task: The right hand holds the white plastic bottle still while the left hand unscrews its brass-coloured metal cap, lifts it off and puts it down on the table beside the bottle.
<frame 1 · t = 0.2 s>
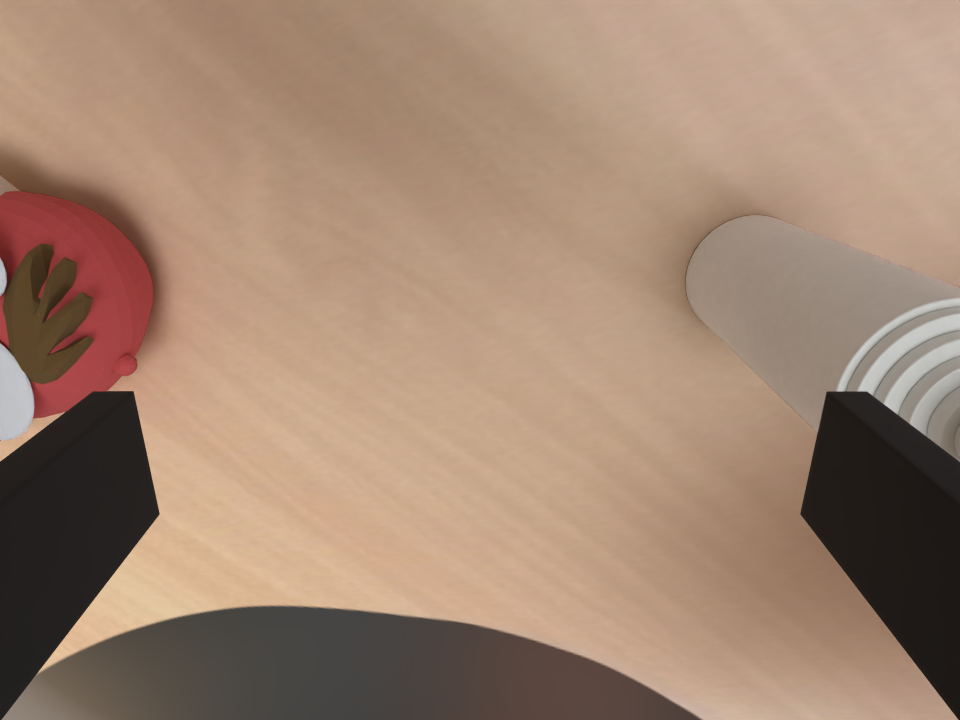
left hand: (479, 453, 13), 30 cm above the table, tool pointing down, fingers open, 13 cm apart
bottle: (746, 276, 42), on the table
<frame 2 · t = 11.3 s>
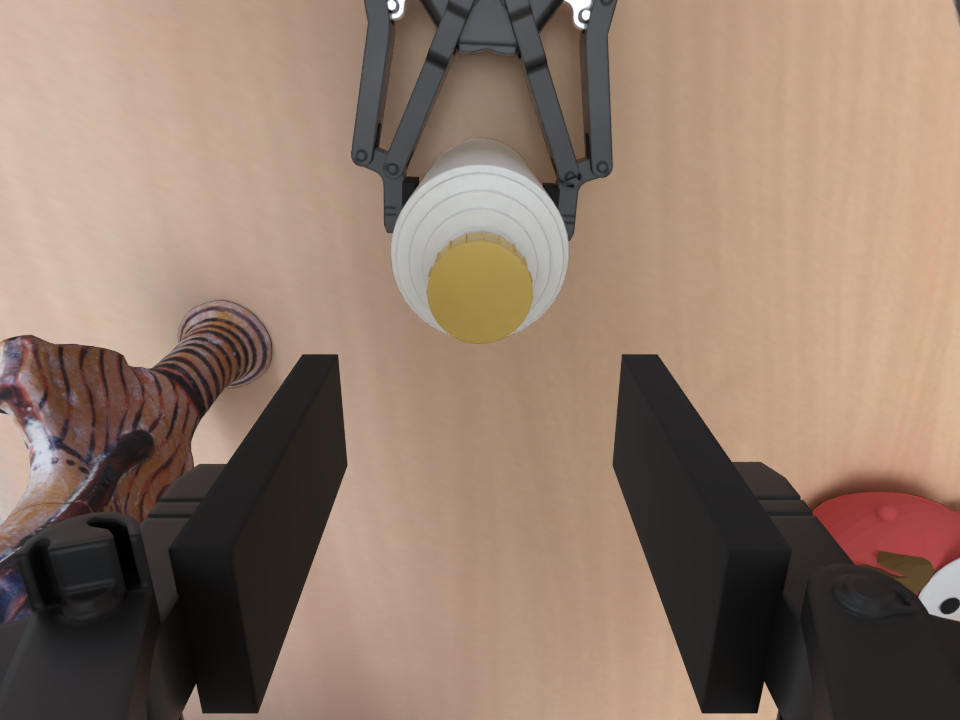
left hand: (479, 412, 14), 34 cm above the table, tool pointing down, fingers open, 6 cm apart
right hand: (476, 287, 42), fingers closed on bottle, 8 cm apart
cap: (479, 292, 23), point 24 cm above the table, screwed on, not yet turned
bottle: (479, 196, 46), on the table, touching right hand
toy: (910, 589, 59), on the table
figurine: (230, 341, 50), on the table
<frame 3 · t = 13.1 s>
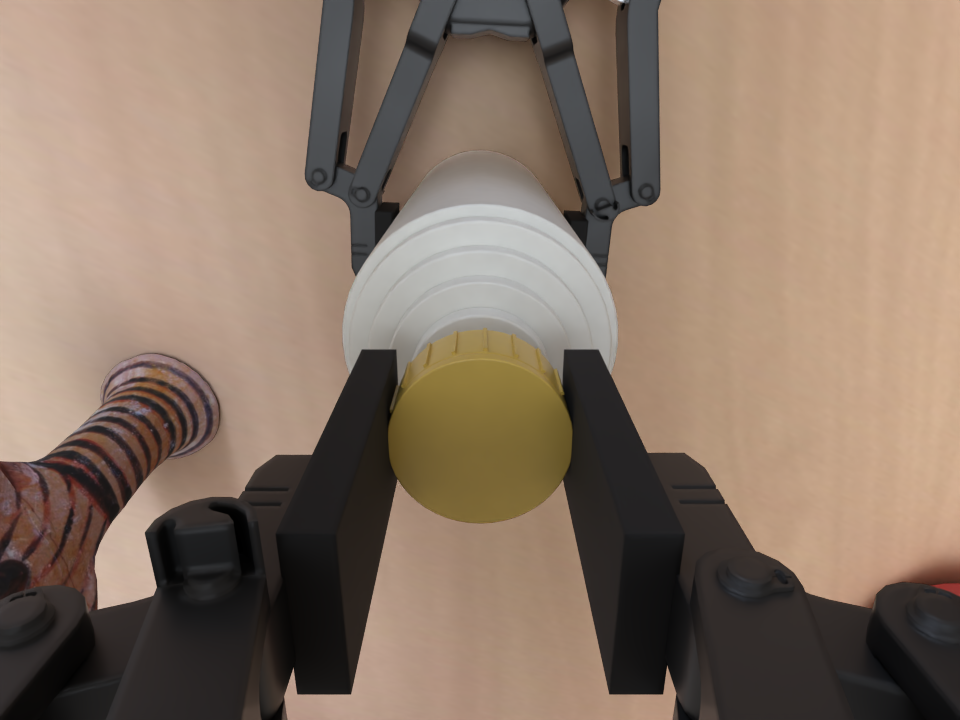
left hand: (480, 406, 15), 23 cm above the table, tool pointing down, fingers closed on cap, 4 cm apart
right hand: (475, 346, 32), fingers closed on bottle, 8 cm apart
cap: (480, 438, 13), point 24 cm above the table, screwed on, not yet turned, touching left hand
bottle: (480, 224, 36), on the table, touching right hand
figurine: (167, 402, 40), on the table
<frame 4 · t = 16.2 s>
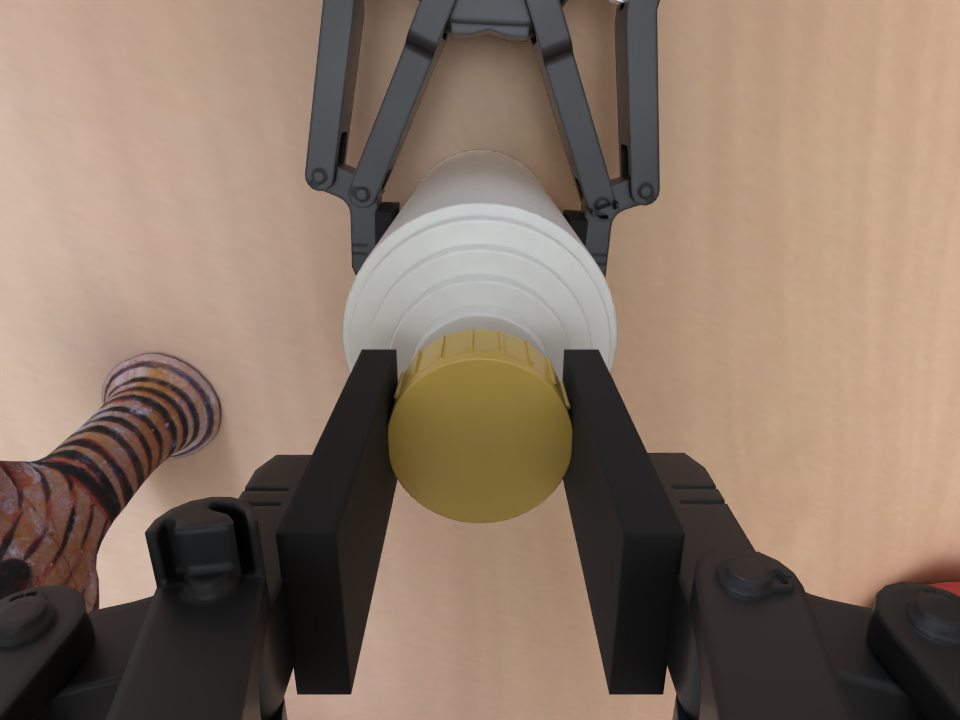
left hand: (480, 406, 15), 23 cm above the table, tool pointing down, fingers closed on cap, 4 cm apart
right hand: (475, 345, 32), fingers closed on bottle, 8 cm apart
cap: (480, 438, 13), point 24 cm above the table, turned 84° so far, risen 0.1 cm, still on its thread, touching left hand
bottle: (480, 223, 36), on the table, touching right hand
figurine: (168, 402, 40), on the table
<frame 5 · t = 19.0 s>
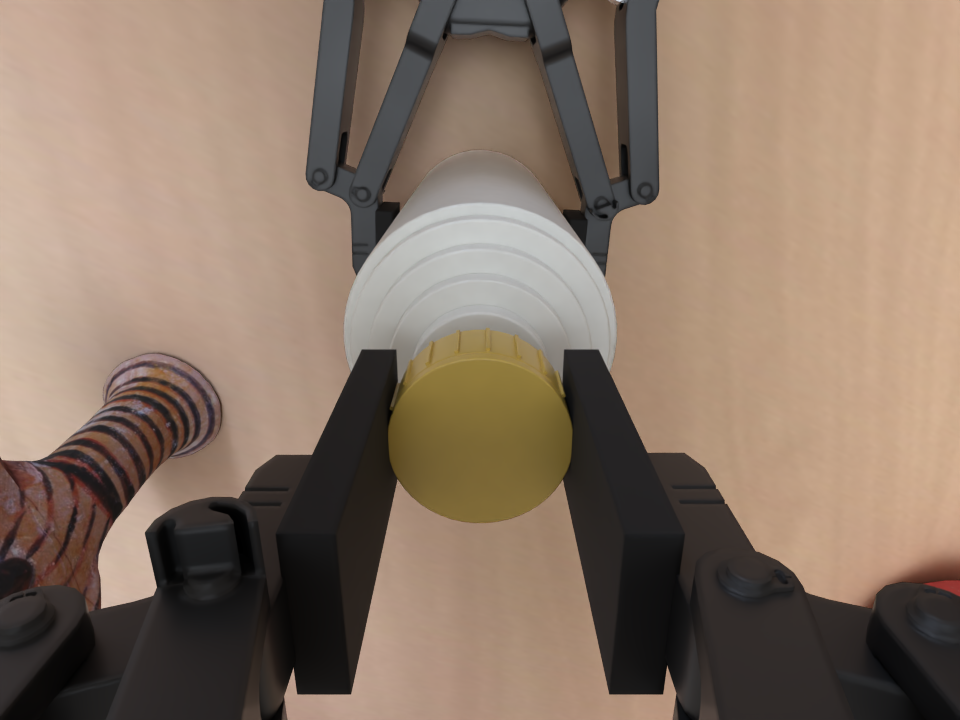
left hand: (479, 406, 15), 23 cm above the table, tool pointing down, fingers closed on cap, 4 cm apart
right hand: (476, 345, 32), fingers closed on bottle, 8 cm apart
cap: (480, 438, 13), point 24 cm above the table, turned 169° so far, risen 0.2 cm, still on its thread, touching left hand
bottle: (480, 223, 36), on the table, touching right hand
figurine: (169, 402, 40), on the table
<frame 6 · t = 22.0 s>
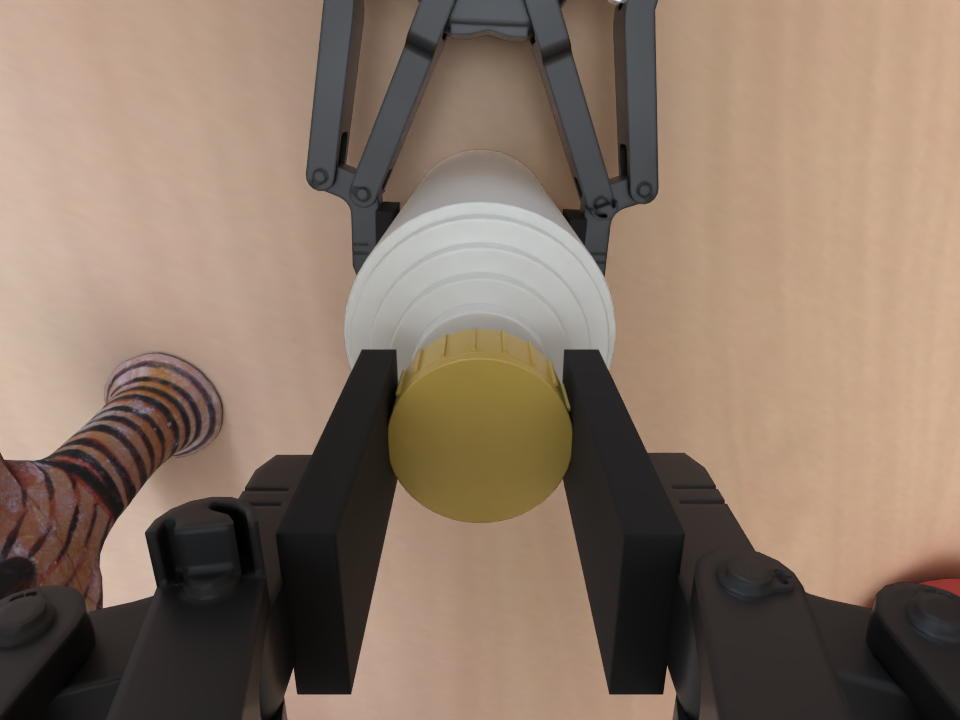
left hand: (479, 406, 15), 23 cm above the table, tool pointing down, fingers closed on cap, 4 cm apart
right hand: (476, 344, 32), fingers closed on bottle, 8 cm apart
cap: (480, 437, 13), point 25 cm above the table, turned 253° so far, risen 0.3 cm, still on its thread, touching left hand
bottle: (480, 223, 36), on the table, touching right hand
figurine: (170, 401, 40), on the table
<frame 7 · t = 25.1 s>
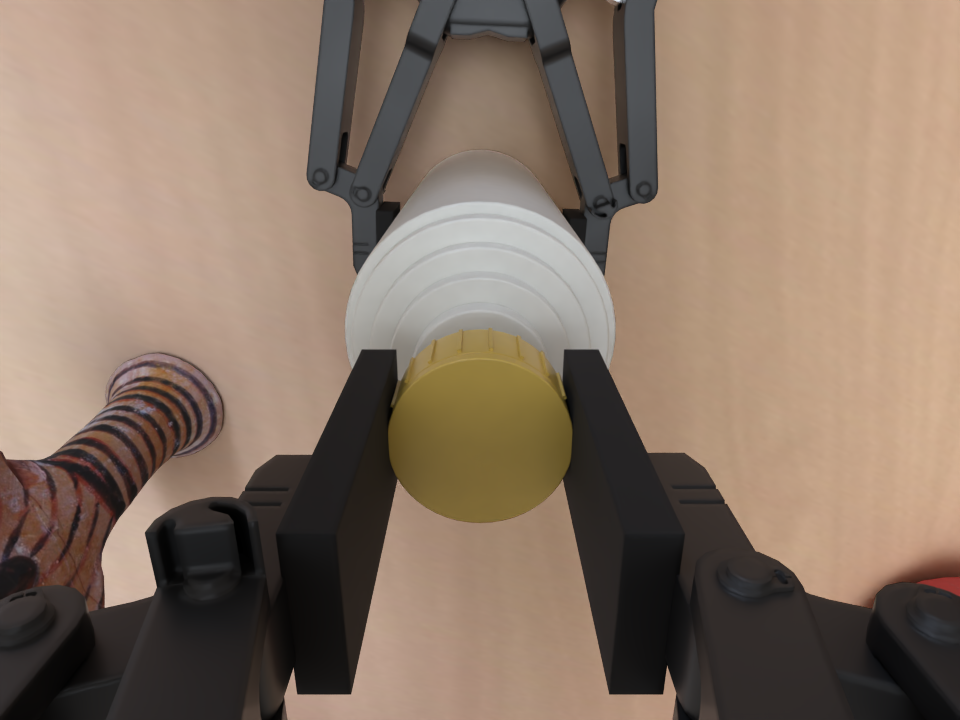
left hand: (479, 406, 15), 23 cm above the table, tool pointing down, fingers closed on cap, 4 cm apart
right hand: (476, 343, 32), fingers closed on bottle, 8 cm apart
cap: (480, 437, 13), point 25 cm above the table, turned 337° so far, risen 0.4 cm, still on its thread, touching left hand
bottle: (480, 222, 36), on the table, touching right hand
figurine: (171, 401, 40), on the table
when the left hand's fingers open (1 cm above the table, at t = 32.0 s): cap stays where it is, point 1 cm above the table.
when the right hand's fingers open (6 cm above the table, at t = 33.3 s): bottle stays where it is, on the table.
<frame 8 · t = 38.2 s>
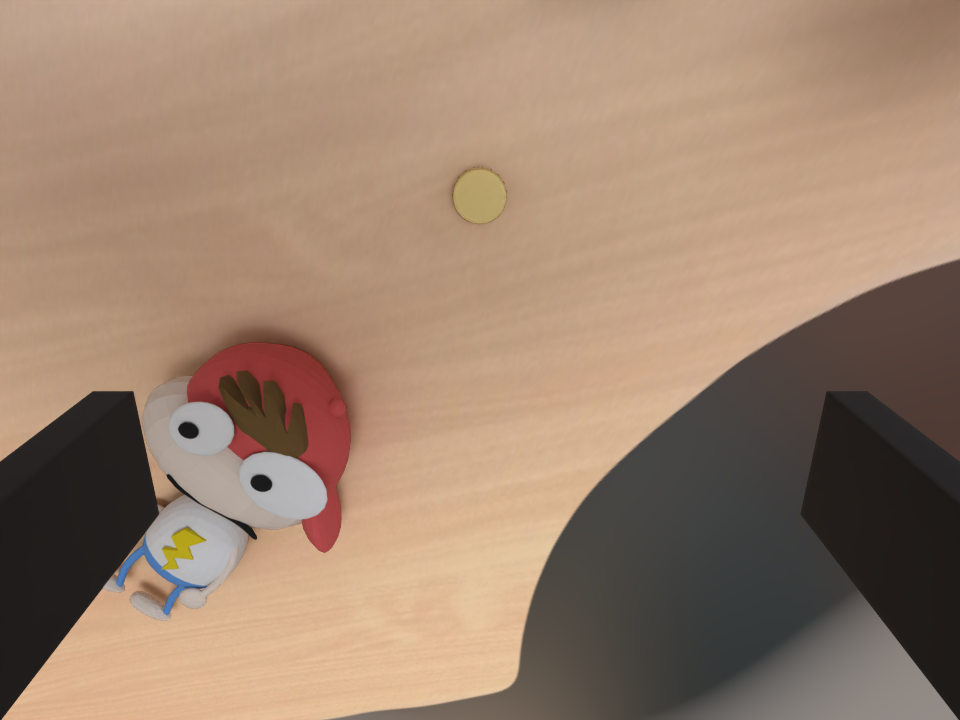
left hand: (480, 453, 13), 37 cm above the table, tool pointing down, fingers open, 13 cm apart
cap: (479, 196, 46), point 1 cm above the table, off its thread
toy: (229, 475, 56), on the table
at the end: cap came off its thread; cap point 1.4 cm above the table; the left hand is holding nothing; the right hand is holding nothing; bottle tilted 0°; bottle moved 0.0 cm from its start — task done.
